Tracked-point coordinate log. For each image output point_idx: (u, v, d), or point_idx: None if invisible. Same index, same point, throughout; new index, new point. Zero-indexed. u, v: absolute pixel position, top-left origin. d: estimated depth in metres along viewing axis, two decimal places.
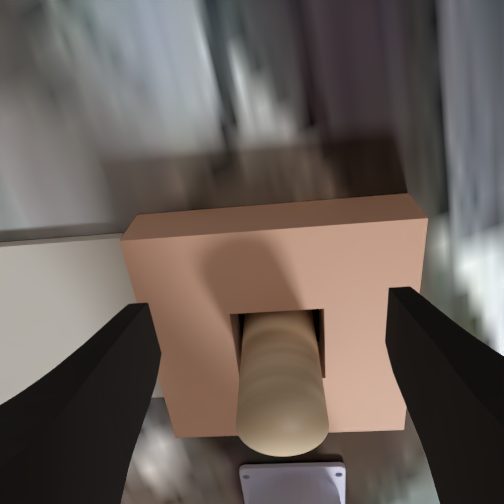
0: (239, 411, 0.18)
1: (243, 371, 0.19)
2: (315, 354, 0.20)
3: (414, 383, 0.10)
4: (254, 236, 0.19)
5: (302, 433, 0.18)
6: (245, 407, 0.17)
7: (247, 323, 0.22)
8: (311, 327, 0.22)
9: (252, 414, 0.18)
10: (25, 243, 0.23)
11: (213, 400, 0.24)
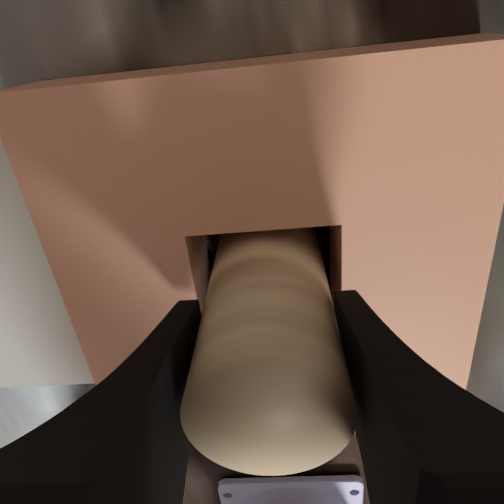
0: (185, 391, 0.09)
1: (201, 324, 0.11)
2: (328, 298, 0.12)
3: (352, 386, 0.10)
4: (221, 81, 0.11)
5: (305, 433, 0.10)
6: (195, 383, 0.09)
7: (217, 258, 0.14)
8: (319, 262, 0.14)
9: (210, 396, 0.09)
10: None
11: None
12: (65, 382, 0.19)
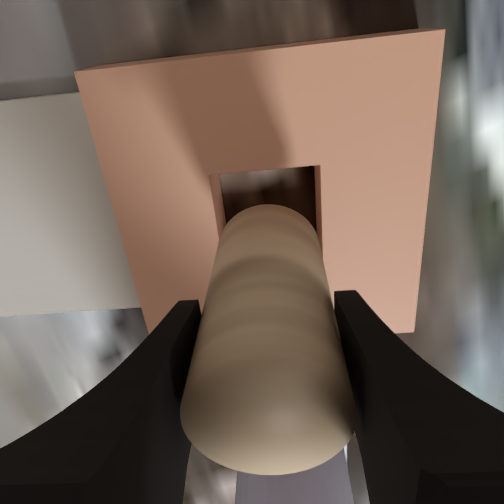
0: (185, 390, 0.09)
1: (201, 323, 0.11)
2: (327, 298, 0.12)
3: (352, 386, 0.10)
4: (235, 61, 0.16)
5: (305, 432, 0.10)
6: (195, 382, 0.09)
7: (217, 257, 0.14)
8: (319, 261, 0.14)
9: (210, 396, 0.09)
10: None
11: (193, 296, 0.21)
12: (108, 307, 0.25)
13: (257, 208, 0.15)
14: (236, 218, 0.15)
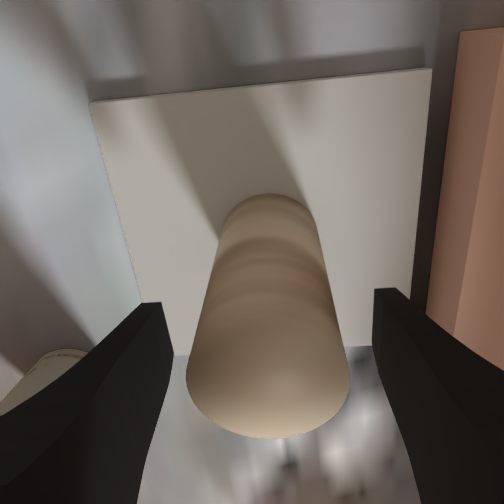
0: (191, 353, 0.10)
1: (206, 298, 0.12)
2: (324, 276, 0.13)
3: (397, 384, 0.10)
4: None
5: (302, 395, 0.10)
6: (200, 345, 0.10)
7: (220, 242, 0.15)
8: (317, 245, 0.14)
9: (214, 358, 0.10)
10: (271, 84, 0.15)
11: None
12: (362, 343, 0.20)
13: (259, 197, 0.16)
14: (239, 206, 0.16)
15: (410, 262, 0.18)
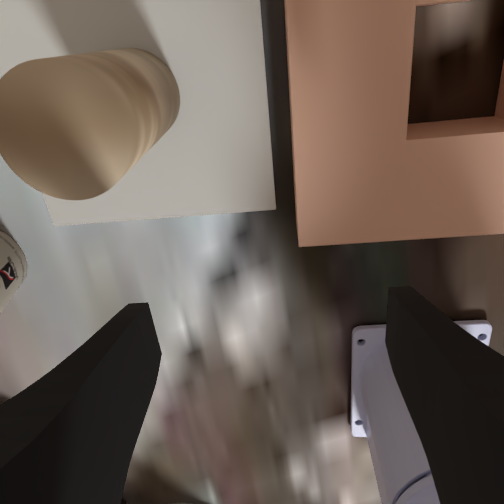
0: None
1: None
2: (142, 81, 0.14)
3: (414, 383, 0.10)
4: None
5: (92, 147, 0.12)
6: None
7: None
8: (155, 75, 0.16)
9: (9, 108, 0.12)
10: None
11: (362, 177, 0.18)
12: (237, 209, 0.21)
13: None
14: None
15: (266, 120, 0.19)
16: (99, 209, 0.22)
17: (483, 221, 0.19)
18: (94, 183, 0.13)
